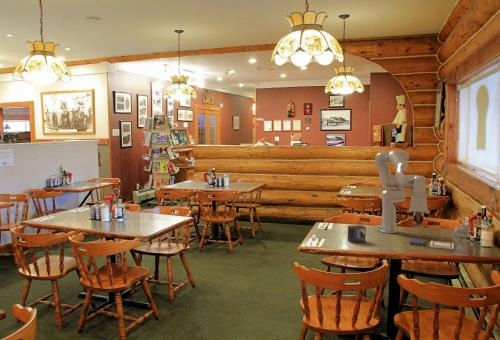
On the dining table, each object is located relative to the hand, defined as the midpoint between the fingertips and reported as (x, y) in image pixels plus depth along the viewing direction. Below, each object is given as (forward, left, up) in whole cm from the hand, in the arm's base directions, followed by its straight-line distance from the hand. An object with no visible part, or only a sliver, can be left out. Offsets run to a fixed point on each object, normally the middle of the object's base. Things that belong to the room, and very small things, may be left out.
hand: (418, 221), depth 282 cm
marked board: (+15, 0, -15) cm, 21 cm away
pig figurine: (+28, +31, -15) cm, 44 cm away
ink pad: (0, 0, -15) cm, 15 cm away
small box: (-38, -13, -15) cm, 43 cm away
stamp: (0, 0, -3) cm, 3 cm away
